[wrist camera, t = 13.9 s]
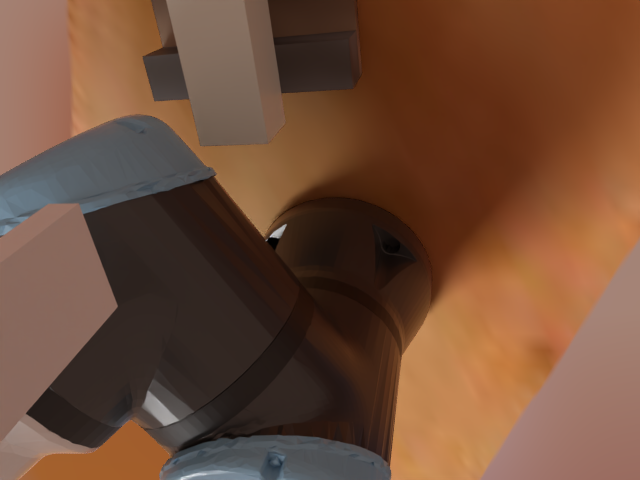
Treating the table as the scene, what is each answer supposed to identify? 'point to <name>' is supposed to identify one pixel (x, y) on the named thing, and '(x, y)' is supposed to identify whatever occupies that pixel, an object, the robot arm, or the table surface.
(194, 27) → the clay strip
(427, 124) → the table surface
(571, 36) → the table surface
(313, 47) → the dark grey rimmed tray
